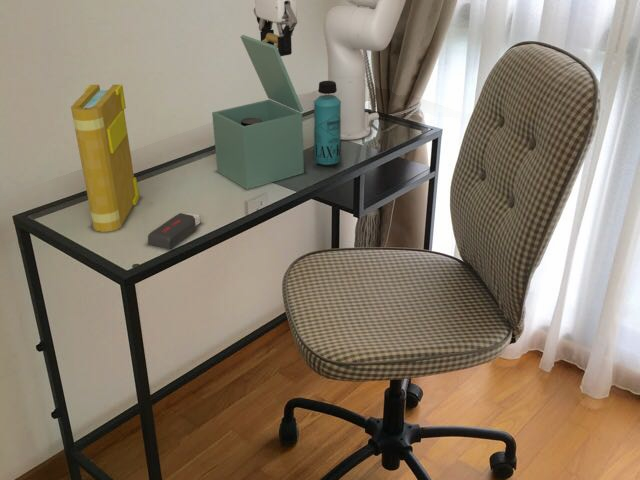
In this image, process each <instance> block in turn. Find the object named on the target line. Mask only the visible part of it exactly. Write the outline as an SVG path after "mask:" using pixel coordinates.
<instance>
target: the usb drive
mask: <svg viewBox="0 0 640 480" xmlns="http://www.w3.org/2000/svg"><path fill="white" fill-rule="evenodd" d="M199 224H201V220H200V215H199V214H195V213H190V212H185V213H180V212H179V213H178V214H176V215H174V216H173V217H171V218H170V219H168V220H167V221H165V222H164V223H163V224H161V225H160V226H157V228H154V230H152V231H150V233H148V235H147V244H148V245H151V246H155V247H159V248H164V249H167V250H172V249H173V248H174V247H176V246H177V245H179V244H180V243H182V242H183V241H185V240H186V239H187V238H189V237H190V236H191V235H192V234H194V233H195V232H196V230H197V226H198V225H199Z"/></svg>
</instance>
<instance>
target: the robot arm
mask: <svg viewBox="0 0 640 480" xmlns="http://www.w3.org/2000/svg"><path fill="white" fill-rule="evenodd" d="M346 1H347V2H348V3H349V4H351V5H347V4H346V5H345V4H344V5H337V6H333V7H331V8H330V9H329V10H327V12H326V13H325V16H324V19H323V23H322V24H323V26H322V28H323V35H324V40H325V45H326V52H327V53H326V54H327V81H334V82H335V83H336V89H337V91H336V92H335V93H332V94H327V95H334V96H336V97H337V98H338V99H339V100H340V101H341V117H340V119H341V138H340V140H341V141H349V140H351V141H353V140H358V139H362V138H366V137H367V136H368V135H370V133H371V126H370V125H369V124H370V122H373V121H378V120H379V118H380V115H379V112H372V113H369V112H368V111H366V61H365V57H364V55H363V52H362V51H369V52H381V51H383V50H385V49H386V48H387V47H388V46H389V44H390V42H391V40H392V38H393V37H394V34H395V31H396V28H397V27H398V22H399V21H400V18H401V15H402V12H403V10H404V7H405V5H406V1H407V0H346ZM253 14H254V16H255V18H256V22H257V23H258V30H259V33H260V41H262V40H264V39H265V38H266V35H267V33H272V34H275V29H273V24H276V28H277V31H278V36H280V37H278V48H277V49H278V51H279V54H280V56H281V57H284V56H290V55H292V53H293V52H292V50H293V49H292V36H293V34H294V33H293V32H294V31H295V28H296V27H297V24H298V19H297V18H298V8H297V0H254V8H253ZM283 26H284V27H283ZM267 43H268V44H271V45H275V43H272V42H269V41H268V42H267Z"/></svg>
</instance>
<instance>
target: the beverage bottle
mask: <svg viewBox="0 0 640 480" xmlns="http://www.w3.org/2000/svg"><path fill="white" fill-rule="evenodd" d="M336 91H337V89H336V83H335V82H334V81H328V80H322V81H319V82H318V93H319V94H323V95H319V96H318V97H317V98H315V100H314V101H313V111H314V113H313V115H314V117H313V118H314V119H313V122H314V123H313V124H314V125H313V159H314V160H315V163H317V164H319V165H329V166H330V165H335V164H337V163H339V162H340V161H341V157H342V155H341V154H342V140H340V138H341V119H340V117H341V101H340V100H339V99H338V98H337V97H336V96H334V95H328V94H332V93H335V92H336Z"/></svg>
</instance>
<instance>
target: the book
mask: <svg viewBox="0 0 640 480" xmlns="http://www.w3.org/2000/svg"><path fill="white" fill-rule="evenodd" d="M70 109H71V114H72V121H73V125H74V131H75V137H76V142H77V147H78V153H79V158H80V162H81V163H80V164H81V169H82V174H83V179H84V184H85V188H86V189H85V190H86V194H87V200H88V205H89V211H90V212H89V213H90V217H91V221H92V227H93V229H94V230H95V231H97V232H103V233H104V232H105V233H106V232H107V233H108V232H113V231H116V230H119V229H120V228H121V227H122V226H123V224H124V222H125V220H126V219H127V217H128V215H129V213H130V212H131V210H132V208H133V206H136V205H137V203H138V201H139V199H140V193H139V187H138V179H137V177H135V173H134V167H133V161H132V155H131V148H130V141H129V133H128V128H127V122H126V120H127V119H126V114H125V110H126V109H127V106H126V100H125V93H124V86H123V84H112V85H111V86H110V87H109V89H101V87H100V84H89V85H88V86H86V88H85V89H84V93H83V94H82V95H81V96H80V97H79V98H77V100H75V102H74V103H73V104H72V105H71V106H70Z"/></svg>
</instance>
